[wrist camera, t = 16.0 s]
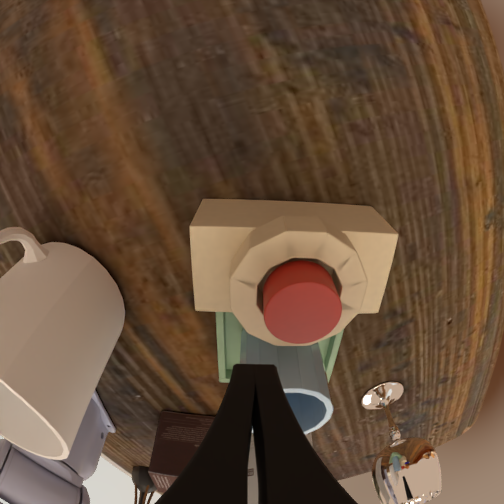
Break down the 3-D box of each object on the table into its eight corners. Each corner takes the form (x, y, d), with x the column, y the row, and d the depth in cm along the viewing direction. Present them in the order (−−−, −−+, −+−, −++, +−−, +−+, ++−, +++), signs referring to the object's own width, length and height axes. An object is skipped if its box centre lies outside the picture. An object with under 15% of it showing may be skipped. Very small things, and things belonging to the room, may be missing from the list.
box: (160, 407, 27) (146, 471, 21) (222, 415, 27) (217, 481, 21) (167, 436, 30) (156, 492, 23) (220, 443, 30) (216, 500, 24)
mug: (66, 347, 24) (12, 449, 13) (-4, 231, 19) (-101, 313, 8) (150, 331, 22) (103, 467, 12) (72, 184, 17) (-61, 278, 7)
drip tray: (325, 368, 24) (328, 382, 23) (220, 367, 24) (219, 382, 23) (346, 280, 20) (352, 294, 19) (217, 277, 20) (214, 291, 19)
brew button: (327, 319, 15) (334, 343, 13) (261, 318, 15) (261, 344, 13) (338, 260, 13) (349, 282, 12) (264, 258, 13) (266, 281, 12)
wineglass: (414, 371, 25) (458, 479, 14) (403, 405, 27) (434, 501, 17) (357, 384, 25) (387, 503, 15) (351, 417, 28) (373, 520, 17)
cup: (309, 359, 23) (322, 436, 17) (241, 359, 23) (237, 438, 17) (320, 305, 21) (342, 386, 14) (241, 303, 20) (237, 387, 14)
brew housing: (356, 283, 20) (385, 343, 15) (205, 279, 20) (190, 343, 15) (373, 195, 18) (417, 236, 12) (202, 187, 18) (179, 228, 12)
